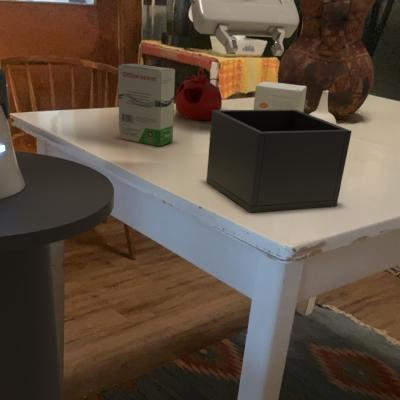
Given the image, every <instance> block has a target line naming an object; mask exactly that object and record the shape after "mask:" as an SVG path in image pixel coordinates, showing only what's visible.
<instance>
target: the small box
mask: <svg viewBox="0 0 400 400" xmlns="http://www.w3.org/2000/svg"><path fill="white" fill-rule="evenodd" d="M306 89H307V86H300V85H292V84H283V83H278V82H275V81H273V82H272V81H266V80H265V81H261V82H259V83H257V84H255V91H254V101H253V109H252V110H299V111H301V112H303V111H304V104H305V97H306Z"/></svg>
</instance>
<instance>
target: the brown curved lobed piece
mask: <svg viewBox="0 0 400 400" xmlns="http://www.w3.org/2000/svg"><path fill="white" fill-rule="evenodd" d="M298 1H299V6H300V9H301V16H302V28H301V31H300V34H299V36H298V37H297V38H296V39H295V40H294V41H293V43H291V44H290V46H289V47H288V48H287V49H286V50H284V52H283V54H282V57H281V59H280V61H279V64H278V70H277V83H283V84H292V85H300V86H307V89H306V97H305V104H304V111H303V112H304V113H306V114H310V113H312V112H314V111H316V110H317V108H318V105H319V102H320V99H321V96H322V93H323V91H326V90H327V91H329V92H328V112H329V113H331V114H332V115H333V116H334V117H335V120H339V119H342V120H343V119H346V118H349V117H350V116H352V115H353V114H355V113H356V112H357V111H358V110H359V109H360V108H361V107H362V106H363V104H364V103H365V101H366V100H367V99H368V96H369V95H370V92H371V91H372V88H373V85H374V81H375V80H374V79H375V69H374V63H373V60H372V58H371V55H370V53H369V51H368V49H367V47H366V45H365V44H364V43H365V42H363V39H362V32H363V28H364V24H365V21H366V19H367V17H368V14H369V13H370V11H371V10H372V8H373V6H374V5H375V3H376V2H377V0H298Z"/></svg>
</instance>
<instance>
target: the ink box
mask: <svg viewBox="0 0 400 400" xmlns="http://www.w3.org/2000/svg"><path fill="white" fill-rule="evenodd" d="M117 67H118V138H119V139H121V140H125V141H131V142H137V143H142V144H146V145H153V146H158V147H159V146H164V145H167V144H170V143H172V142H173V139H174V111H175V83H176V81H175V80H176V69H175V68H171V67H170V68H169V67H163V66H155V65H149V64H141V63H121V64H120V65H118V66H117Z"/></svg>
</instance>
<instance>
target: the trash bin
mask: <svg viewBox="0 0 400 400" xmlns="http://www.w3.org/2000/svg"><path fill="white" fill-rule="evenodd" d="M352 131H353V130H350V129H347V128H346V127H342V126H340V125H337V124H336V125H335V124H332V123H330V122H327V121H324V120H322V119H319V118H317V117H314V116H311V115H309V114H306V113H304V112H301V111H299V110H253V109H221V110H212V118H211V119H210V133H209V145H208V146H209V147H208V159H207V169H206V170H207V172H206V181H205V182H206V183H207V184H208V185H210V186H211V187H213V188H214V189H216V190H217V191H219V192H220V193H222V194H223V195H224V196H226V197H227V198H229V199H230V200H232V201H233V202H234V203H236V204H237V205H238V206H240V207H241V208H243V209H244V210H246V211H247V212H249V213H251V214H252V213H262V212H275V211H285V210H286V211H289V210H299V209H300V210H301V209H313V208H324V207H325V208H326V207H336V206H338V200H339V196H340V191H341V186H342V182H343V177H344V171H345V167H346V163H347V162H346V161H347V157H348V152H349V147H350V141H351V136H352Z"/></svg>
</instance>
